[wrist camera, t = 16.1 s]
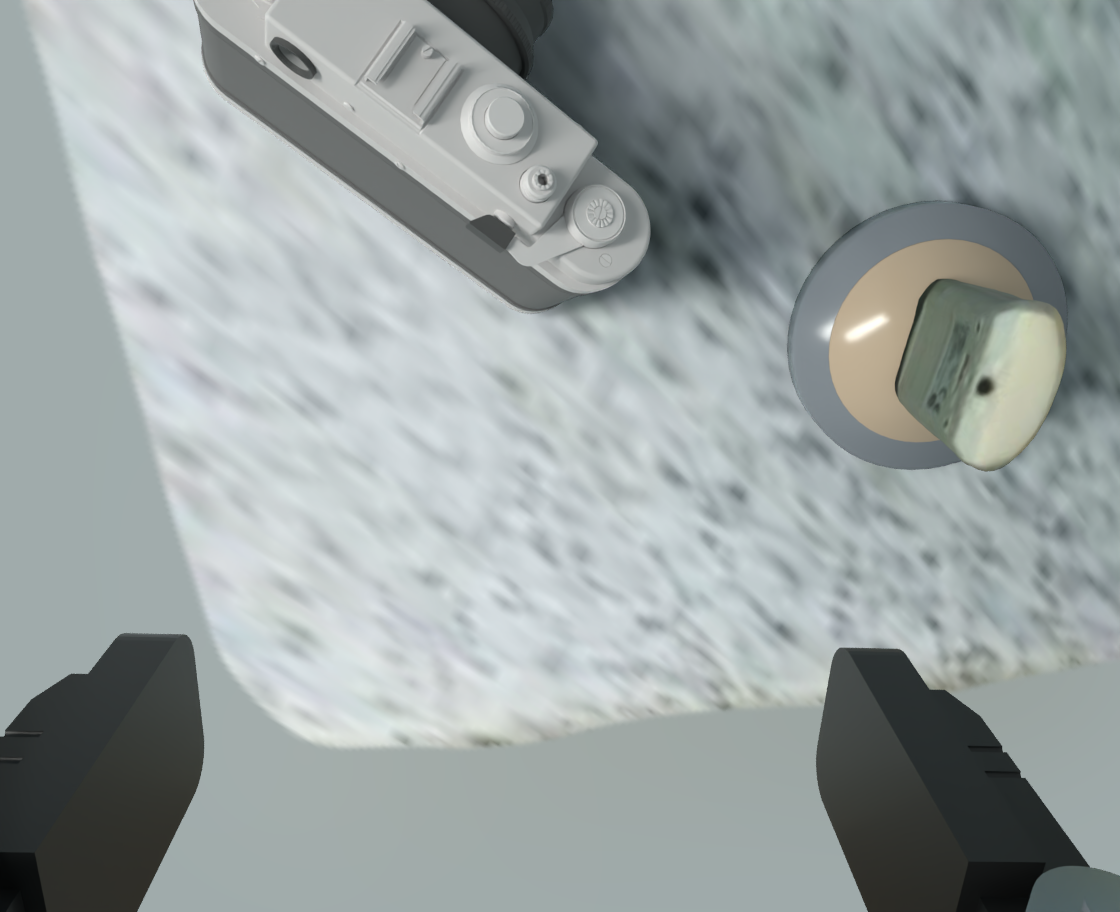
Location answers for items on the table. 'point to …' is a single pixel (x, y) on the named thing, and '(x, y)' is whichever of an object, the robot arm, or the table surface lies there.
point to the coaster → (898, 317)
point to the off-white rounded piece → (981, 369)
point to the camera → (436, 132)
